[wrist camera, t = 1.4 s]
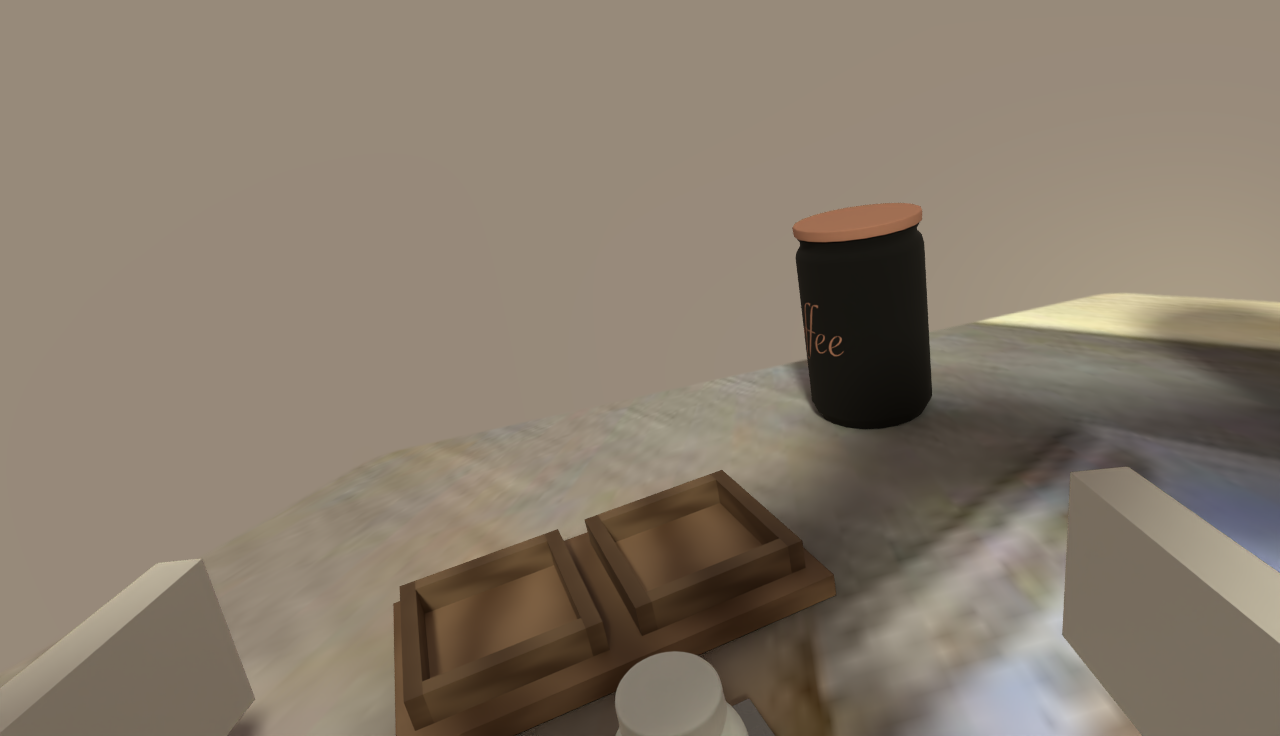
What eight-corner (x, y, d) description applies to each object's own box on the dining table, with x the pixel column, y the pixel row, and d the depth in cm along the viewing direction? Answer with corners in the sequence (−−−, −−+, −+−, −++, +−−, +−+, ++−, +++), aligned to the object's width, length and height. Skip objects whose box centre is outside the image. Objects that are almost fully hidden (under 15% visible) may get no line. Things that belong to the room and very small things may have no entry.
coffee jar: (809, 390, 71) (789, 217, 65) (918, 378, 68) (908, 197, 62) (818, 438, 61) (795, 238, 55) (946, 425, 59) (936, 215, 53)
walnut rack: (731, 496, 55) (724, 458, 53) (836, 594, 42) (830, 546, 41) (400, 621, 48) (384, 579, 47) (405, 782, 35) (383, 731, 34)
